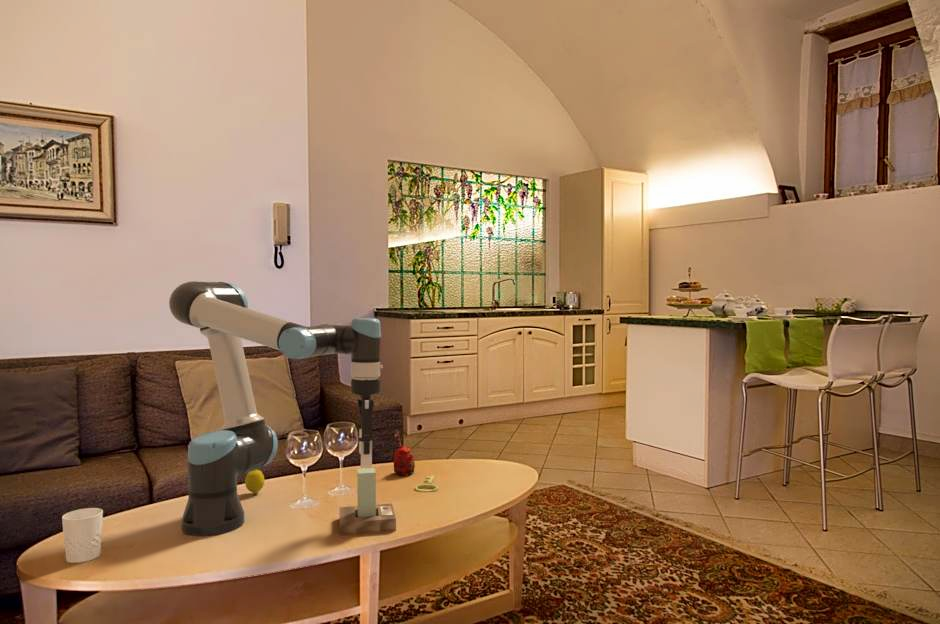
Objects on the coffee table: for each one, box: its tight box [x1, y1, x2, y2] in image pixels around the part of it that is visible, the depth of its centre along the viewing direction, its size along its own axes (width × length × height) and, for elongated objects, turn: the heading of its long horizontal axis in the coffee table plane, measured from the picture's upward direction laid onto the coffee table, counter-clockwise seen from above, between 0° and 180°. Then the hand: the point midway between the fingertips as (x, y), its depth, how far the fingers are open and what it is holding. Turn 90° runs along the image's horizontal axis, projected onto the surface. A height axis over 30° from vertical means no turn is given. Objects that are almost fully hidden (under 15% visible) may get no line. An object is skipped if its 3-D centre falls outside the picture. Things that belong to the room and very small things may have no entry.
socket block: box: [338, 503, 397, 536], centre depth 161 cm, size 14×12×3 cm
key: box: [414, 474, 439, 493], centre depth 194 cm, size 7×12×2 cm, turn 11°
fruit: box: [244, 469, 266, 495], centre depth 187 cm, size 6×6×8 cm
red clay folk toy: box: [393, 429, 416, 477], centre depth 208 cm, size 8×7×15 cm
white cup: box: [61, 507, 104, 564], centre depth 141 cm, size 8×8×10 cm
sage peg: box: [356, 467, 377, 517], centre depth 161 cm, size 4×4×14 cm
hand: (365, 459), depth 161 cm, fingers open, 13 cm apart
